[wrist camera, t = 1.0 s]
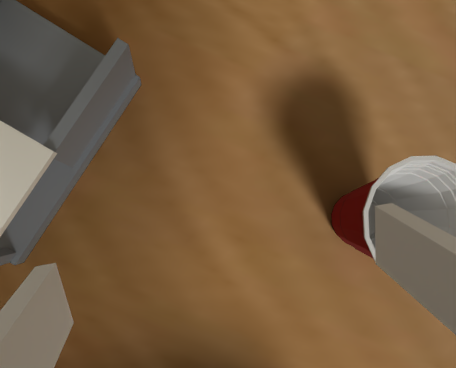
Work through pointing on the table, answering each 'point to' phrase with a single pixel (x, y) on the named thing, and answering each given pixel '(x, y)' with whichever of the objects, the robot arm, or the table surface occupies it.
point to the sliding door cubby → (56, 110)
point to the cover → (19, 170)
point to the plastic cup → (399, 200)
